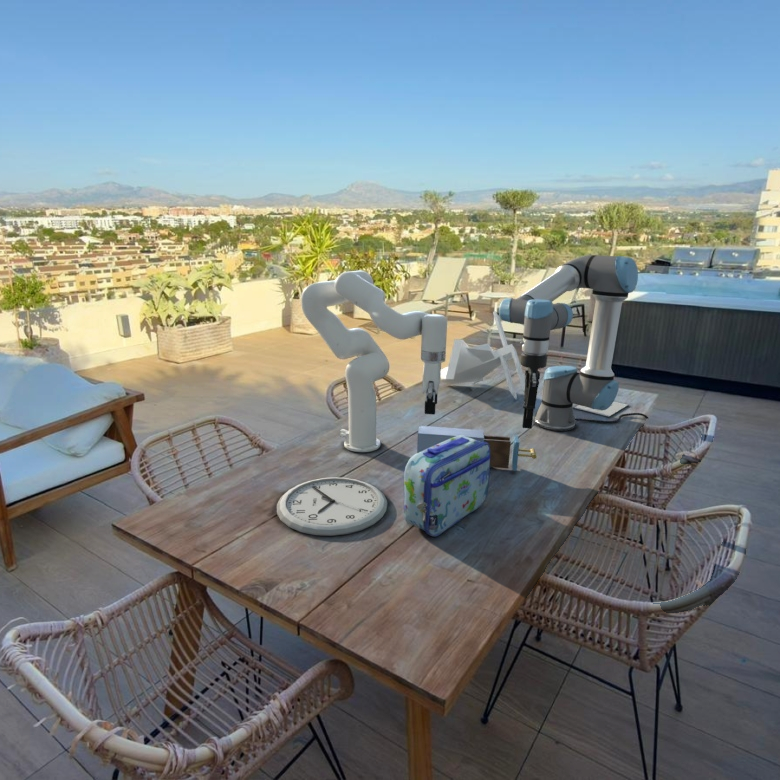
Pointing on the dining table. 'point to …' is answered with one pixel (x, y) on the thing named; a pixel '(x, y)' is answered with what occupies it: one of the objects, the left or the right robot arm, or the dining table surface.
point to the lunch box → (446, 483)
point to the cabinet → (443, 435)
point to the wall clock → (331, 506)
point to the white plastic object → (481, 361)
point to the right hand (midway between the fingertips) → (526, 427)
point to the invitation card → (608, 412)
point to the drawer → (505, 451)
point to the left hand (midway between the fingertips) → (430, 408)
